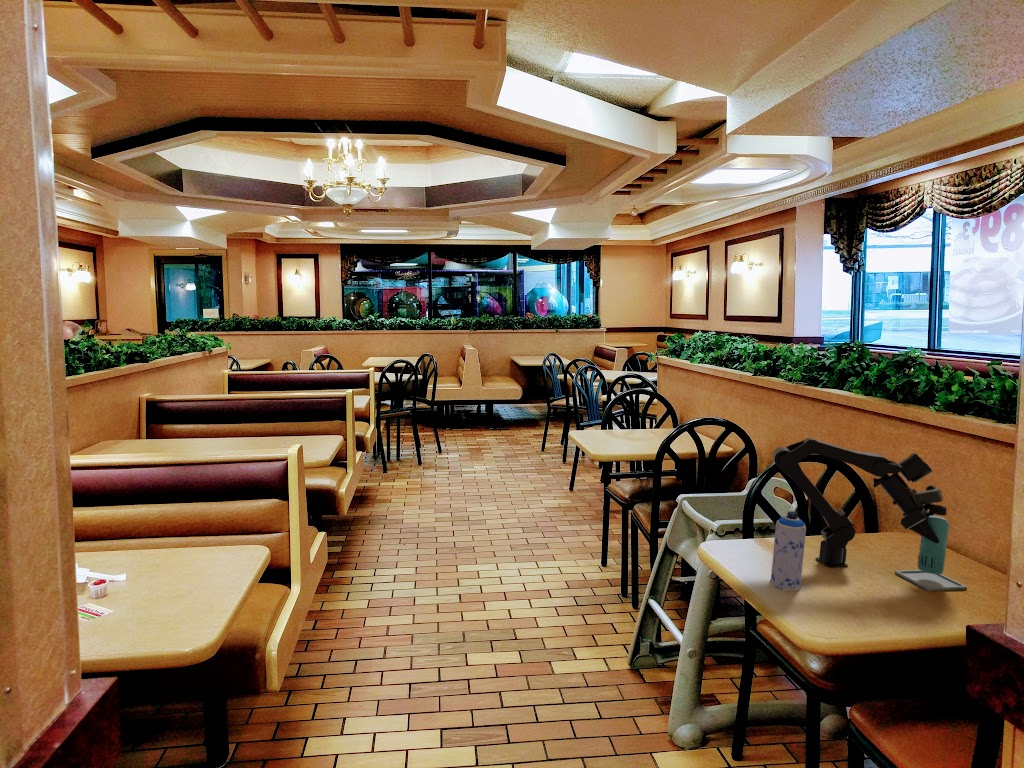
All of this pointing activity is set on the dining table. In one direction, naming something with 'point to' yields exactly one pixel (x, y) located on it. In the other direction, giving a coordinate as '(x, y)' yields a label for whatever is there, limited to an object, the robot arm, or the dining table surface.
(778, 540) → the aerosol can
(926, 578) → the tray
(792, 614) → the dining table surface
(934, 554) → the beverage bottle
